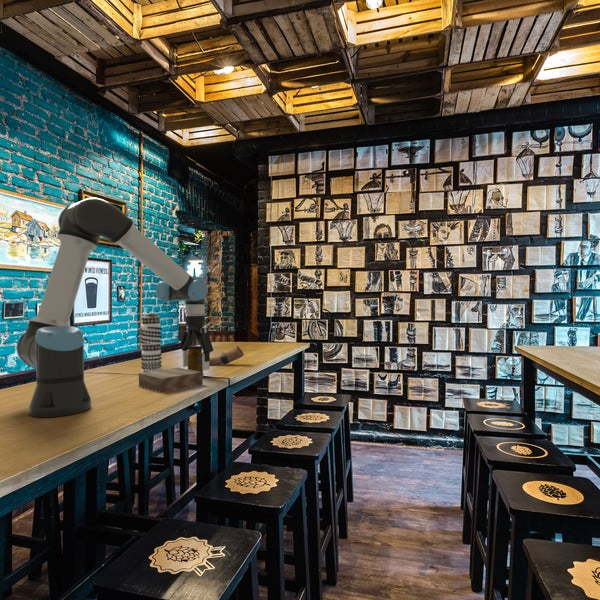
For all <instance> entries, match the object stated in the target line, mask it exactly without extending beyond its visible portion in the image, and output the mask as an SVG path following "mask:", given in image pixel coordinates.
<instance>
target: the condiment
mask: <svg viewBox="0 0 600 600" xmlns="http://www.w3.org/2000/svg"><path fill="white" fill-rule="evenodd" d="M188 351H189V353H188V366H187V369H189V370H194V371H200V372H202V375H204V370H202V353H203V350H202V348H201V346H200V345H190V347H189V350H188Z"/></svg>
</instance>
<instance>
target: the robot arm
mask: <svg viewBox="0 0 600 600" xmlns="http://www.w3.org/2000/svg"><path fill="white" fill-rule="evenodd" d="M57 223H58V228H59V230H58V233H57V239H58V240H59V242H60V244H59V247H58V251H57V254H56V256H55V260H54V263H53V265H52V266H53V267H52V269H51V272H50V275H49V279H48V282H47V284H46V287H45V290H44V294H43V296H42V299H41V303H40V306H39V310H38V311H37V314H36V316H33V317H32V318H31V319H29V320H28V324H27V326H26V330H25V332H24V333H22V334H21V336H20V337H19V338H18V341H17V342H16V353H17V356H18V359H20V361H22V362H23V363H24V364H25V365H27V366H29V367H30V368H33V369H35V371H36V373H35V374H36V375H35V377H36V385H35V388H34V391H33V395H32V398H31V400H30V403H29V406H28V407H29V408H28V409H29V410H28V411H29V414H30V415H31V417H33V418H56V417H64V416H69V415H74V414H78V413H82V412H84V411H87V410H89V409H91V408H92V399H91V398H92V397H91V396H90V393H89V389H88V387H87V385H86V383H85V377H84V376H85V375H84V374H85V370H84V369H85V366H84V365H85V360H84V358H85V357H84V354H85V352H84V351H85V348H84V344H85V338H84V333H83V331H82V329H80V328H78V327H74V326H71V325H70V319H71V318H70V317H71V315H72V312H73V310H74V309H73V308H74V305H75V301H76V299H77V295H78V291H79V289H80V285H81V282H82V279H83V275H84V273H85V269H86V265H87V263H88V259H89V257H90V253H91V252H92V251H94V250H96V249H98V248H97V247H98V245H99V242H100V238H104V239H105V240H107V241H109V242H110V243H111V244H114V245H117V244H118V245H119V246H120V247H121V248H122V249H124V251H126V252H127V253H128V254H130V255H131V256H132V257H134V259H136V260H138V262H140V263H141V264H142V265H144V267H146V268H147V269H149V270H150V271H151V272H152V273H153V274H155V275H156V276H157V277H158V278H160V279H161V280H162V281H159V282H158V283H157V284H156V287H155V295H156V298H157V299H158V300H159V301H163V302H180V301H181V302H182V301H183V302H184V303H185V304H184V305H185V310H184V311H185V315H186V316H185V326H183V331H182V334H181V335H182V336H181V338H180V342H179V345H178V347H179V349H180V350H181V351H182V367H184V368H185V367H188V353H189V351H188V350H189V347H190V346H192V345H191V344H192V343H193V341H194V340H197V342H198V344H199V346H201V348H202V370H203V371H209V370H210V365H209V361H210V358H211V357H210V355H211V353H212V352H214V347H213V344H212V341H211V338H210V334H209V328H208V327H203V325H205V324H206V317H205V302H206V299H205V298H206V297H207V294H208V292H209V287H208V285H207V283H206V282H205V279H204V277H202V276H192V275H191V274H190V273H188V272H187V271H186V270H185V269H184V268H183V267H181V266H180V265H179V264H178V263H177V262H175V261H174V259H172V258H171V257H170V256H169V255H168V254H166V253H165V252H164V251H163V250H162V249H161V248H160V247H158V245H156V244H155V242H153V241H152V240H151V239H150V238H148V237H147V236H146V235H145V234H144V233H143V232H142V231H140V230H139V229H138V228H137V227H136V226H135V222H134V220H132V219H131V218H130V217H129V215H127V214H126V213H124V212H123V211H122V210H121V209H119V208H118V207H117V206H115V205H114V204H112V203H110V202H109V201H107V200H104V199H103V198H98V197H87V198H85V199H83V200H80V201H78V202H74V203H72V204H69V205H67V206H66V207H65V208H64V209H63V210H62V211H61V213H60V214H59V216H58V220H57ZM29 414H28V415H29ZM30 415H29V416H30Z"/></svg>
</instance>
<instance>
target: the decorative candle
mask: <svg viewBox="0 0 600 600" xmlns="http://www.w3.org/2000/svg"><path fill="white" fill-rule="evenodd" d="M161 330H163V329H162V325H161V316H160V315H159V314H158V313H157V312H149V313H147V312H146V313H144V314H143V315H142V316H141V328H140V329H139V331H140V333H139V335H140V344H141V346H142V347H141V354H140V357H141V358H140V360H141V362H140V365H141V366H140V368H141V370H140V371H141V372H143V371H145V372H151V371H158V370H163V369H162V368H161V367H162V366H163V365H162V363H163V362H162V357H161V356H162V351H161V344H162V340H161V338H162V334H163V333H162V332H161ZM145 372H144V373H145Z"/></svg>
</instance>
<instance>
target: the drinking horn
mask: <svg viewBox="0 0 600 600" xmlns="http://www.w3.org/2000/svg"><path fill="white" fill-rule="evenodd" d="M244 356H245V354H244V352H243V350H242V349H241V348H240V347H239V345H236V346H235V347H233V348H232V349H230V350H229V351H228V352H224V351H222V352H221V354H220V355H218V356H214V357H210V361H209V366H217V365H227V364H230V363H231V362H234V361H237V360H239V359H240V358H242V357H244Z"/></svg>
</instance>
